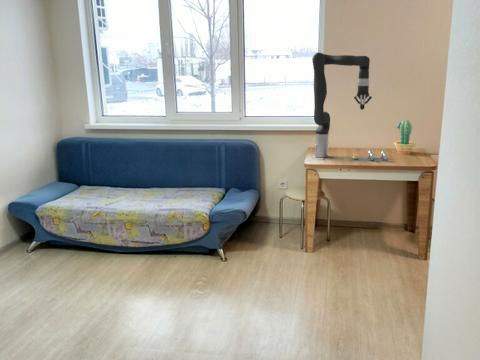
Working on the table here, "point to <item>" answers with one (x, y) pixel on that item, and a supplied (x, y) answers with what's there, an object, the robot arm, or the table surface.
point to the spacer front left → (372, 156)
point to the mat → (366, 159)
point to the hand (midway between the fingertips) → (362, 109)
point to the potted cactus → (404, 138)
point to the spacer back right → (382, 154)
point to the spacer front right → (385, 157)
